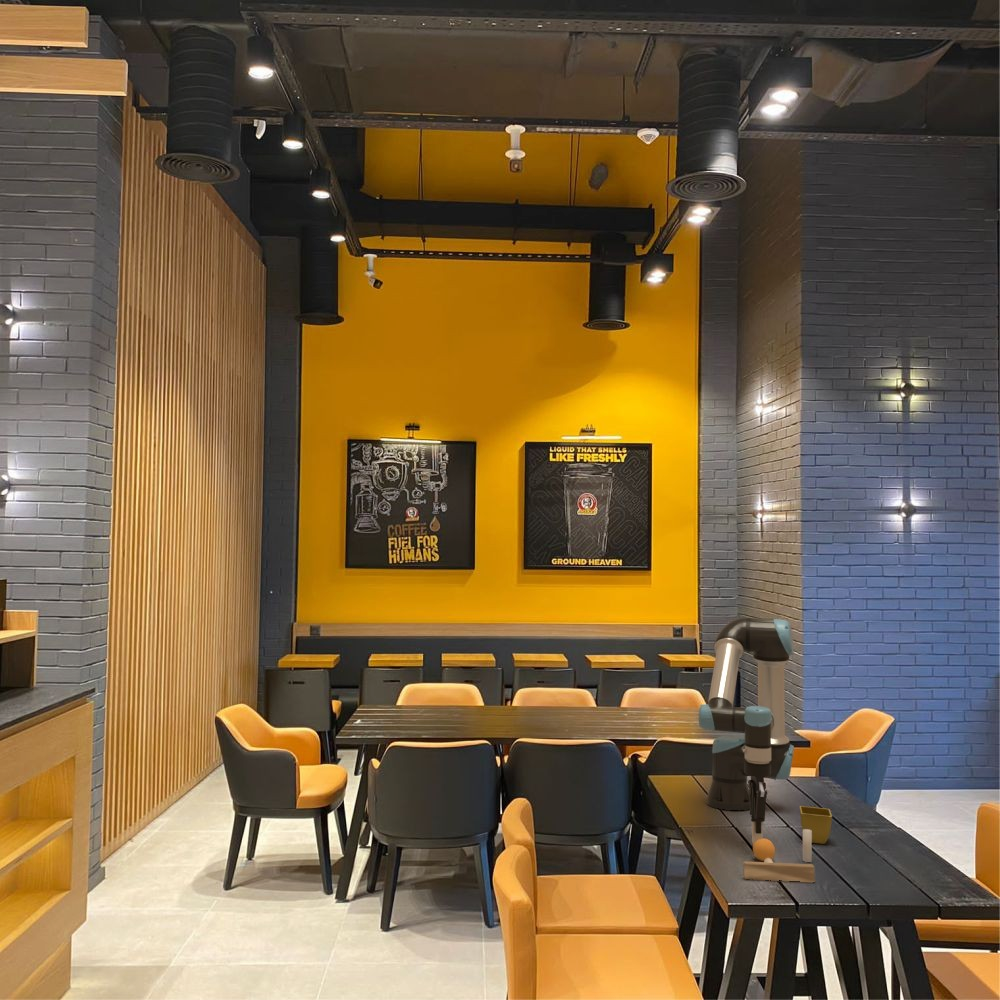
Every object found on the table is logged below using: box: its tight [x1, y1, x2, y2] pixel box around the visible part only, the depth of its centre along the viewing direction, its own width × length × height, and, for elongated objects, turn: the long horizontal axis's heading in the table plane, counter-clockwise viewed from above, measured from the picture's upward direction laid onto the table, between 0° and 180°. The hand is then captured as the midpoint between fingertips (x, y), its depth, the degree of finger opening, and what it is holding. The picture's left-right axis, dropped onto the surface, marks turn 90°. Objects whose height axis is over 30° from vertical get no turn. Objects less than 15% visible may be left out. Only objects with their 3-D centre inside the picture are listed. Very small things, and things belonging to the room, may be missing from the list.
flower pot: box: [799, 805, 833, 845], centre depth 271 cm, size 9×9×9 cm
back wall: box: [742, 861, 816, 883], centre depth 237 cm, size 2×18×4 cm, turn 87°
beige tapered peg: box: [802, 829, 813, 863], centre depth 252 cm, size 2×2×8 cm
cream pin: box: [763, 858, 775, 863], centre depth 243 cm, size 2×2×8 cm
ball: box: [752, 837, 776, 862], centre depth 252 cm, size 6×6×6 cm
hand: (757, 843), depth 261 cm, fingers closed
